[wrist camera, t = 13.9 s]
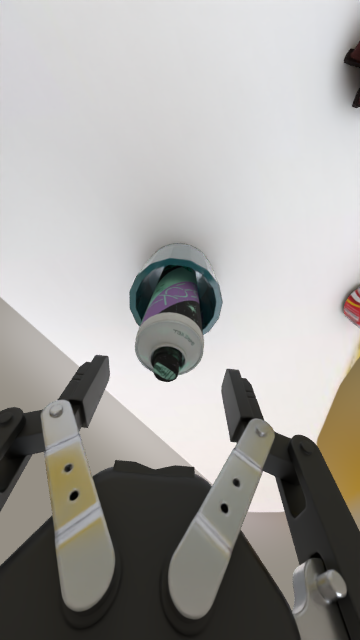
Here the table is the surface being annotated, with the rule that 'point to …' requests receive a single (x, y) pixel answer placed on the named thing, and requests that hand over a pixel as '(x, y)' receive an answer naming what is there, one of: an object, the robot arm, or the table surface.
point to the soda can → (353, 307)
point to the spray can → (172, 326)
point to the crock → (181, 257)
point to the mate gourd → (355, 58)
